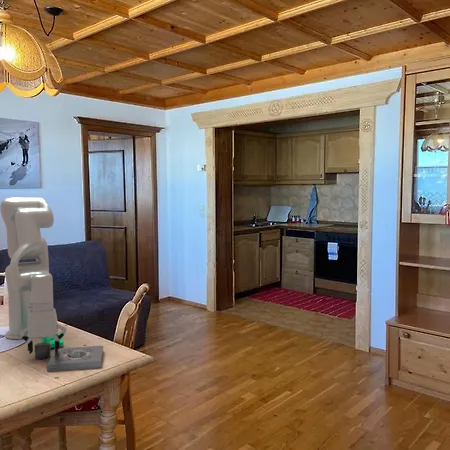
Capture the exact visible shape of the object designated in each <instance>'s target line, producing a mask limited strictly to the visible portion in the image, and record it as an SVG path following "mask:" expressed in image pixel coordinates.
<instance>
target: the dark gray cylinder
mask: <svg viewBox="0 0 450 450" xmlns="http://www.w3.org/2000/svg"><path fill="white" fill-rule="evenodd" d="M50 357H51V348H50V343H47V342H43V343H42V342H38V343H36V344H34V360H36V361H46V360H50Z"/></svg>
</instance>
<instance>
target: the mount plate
mask: <svg viewBox="0 0 450 450" xmlns="http://www.w3.org/2000/svg"><path fill="white" fill-rule="evenodd" d="M103 356H104V345H91V346H89V345H88V346H75V347H73V346H72V347H60V348H59V349H58V351H57V352H55V348H54V349H53V351H52V353H51V354H50V358H49V359H48V362H47V363H46V372H47V373H48V372H62V371H75V370H89V369H90V370H92V369H101V367H102V361H103Z"/></svg>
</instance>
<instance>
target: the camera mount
mask: <svg viewBox="0 0 450 450" xmlns="http://www.w3.org/2000/svg"><path fill="white" fill-rule="evenodd" d="M57 334H58V335H60V334H61V333H57ZM43 342H47V343H50V349H51V348H52V349H53V348H55V339H54V338H53V337H46V338H41V343H43ZM59 342H60V348H62V347H63V346H64V339H63V337H62V338H61V339H60V340H59Z"/></svg>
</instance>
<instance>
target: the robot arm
mask: <svg viewBox="0 0 450 450" xmlns="http://www.w3.org/2000/svg"><path fill="white" fill-rule="evenodd" d="M0 215H1V218H2V221H3V222H4V224H5V228H6V243H7V244H6V245H7V253H8V257H9V259H10V264H8V266H6V268H5V271H4V277H5V281H6V286H7V300H8V303H7V304H8V331H7V332H5V335H4V336H5V338H6V339H9V340H23V341H24V342H26V344H27V351H28V353H29V355H32V354H33V351H34V341H33V339H42V338H46V337H53V338H54V339H55V347H54V349H55V352H57V351H58V349H59V348H61V347H60V342H59V340H60V339H61V338H63V337H64V335H65V334H66V332H67V331H68V327H65V326H64V325H61V324H59V323H58V316H57V312H56V308H54V289H53V287H54V282H53V275H52V273H50V266H49V265H50V264H49V249H48V248H49V246H48V242H47V240H46V239H45V238H44V237H42V234H41V229H49V228H51V227H53V225H54V222H55V220H54V219H55V218H54V213H53V211H52V209H51V207H50V205H49V204H48V202H47V201H46V200H45V199H44V198H43V197H36V196H35V197H33V196H32V197H31V196H29V197H25V196H24V197H22V196H21V197H19V196H18V197H16V196H14V197H8V198H7V197H6V198H3V199H2V200H1V202H0ZM33 259H35V261H28V262H27V261H25V262H20V260H33ZM58 330H60V331H61V333H59V332H58ZM58 334H60V335H58Z"/></svg>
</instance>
